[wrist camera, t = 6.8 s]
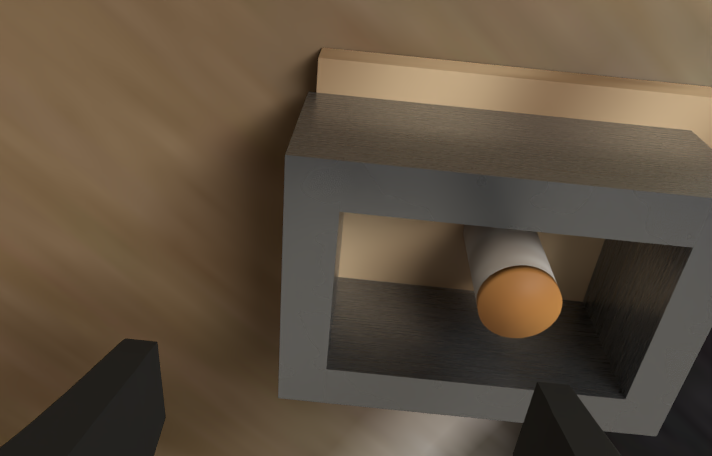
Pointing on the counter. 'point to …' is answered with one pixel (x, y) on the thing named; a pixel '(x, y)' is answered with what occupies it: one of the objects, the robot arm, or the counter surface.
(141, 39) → the counter surface
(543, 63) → the counter surface
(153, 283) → the counter surface
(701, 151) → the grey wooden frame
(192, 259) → the counter surface
